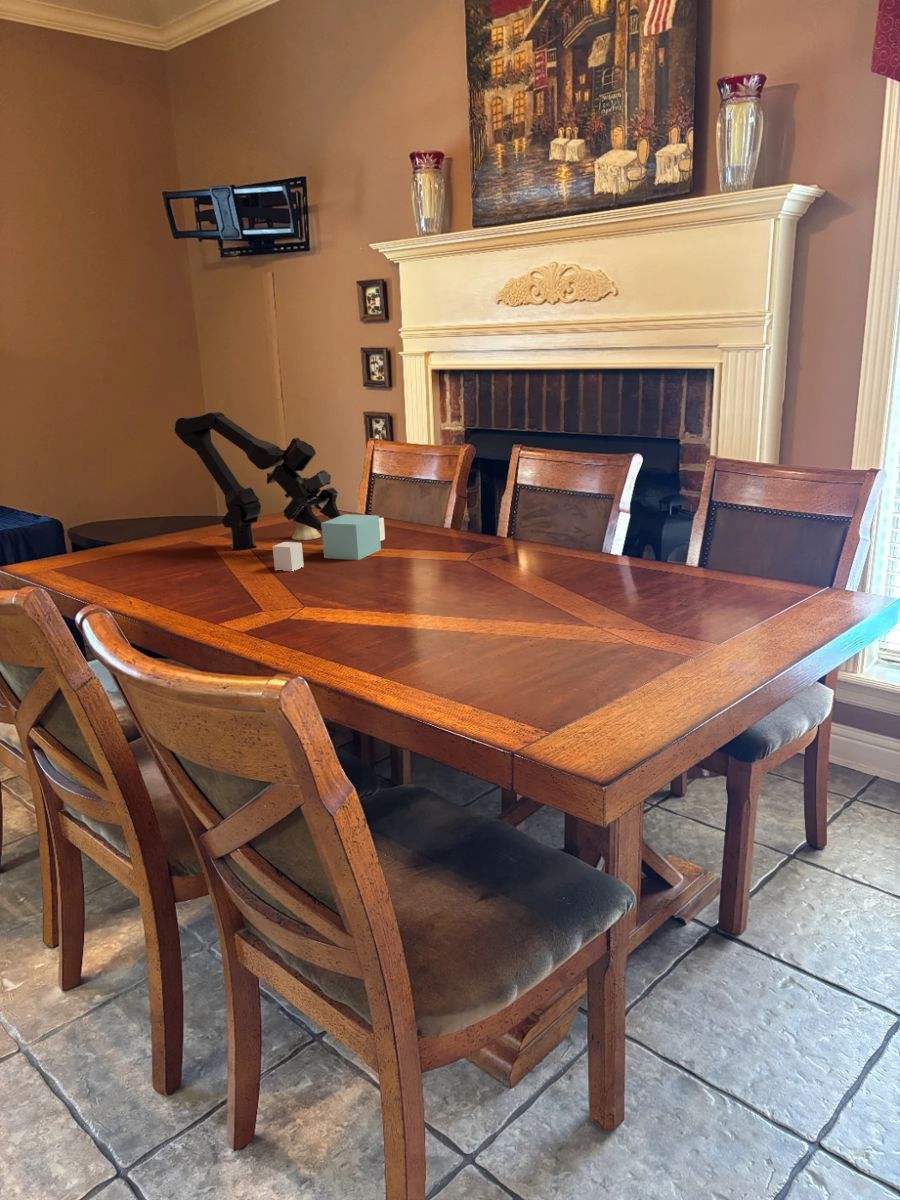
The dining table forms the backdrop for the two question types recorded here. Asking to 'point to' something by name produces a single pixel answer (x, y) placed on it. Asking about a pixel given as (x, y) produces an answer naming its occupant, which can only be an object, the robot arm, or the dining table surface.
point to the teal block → (351, 536)
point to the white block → (288, 556)
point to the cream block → (381, 529)
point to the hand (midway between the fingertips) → (333, 526)
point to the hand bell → (305, 532)
